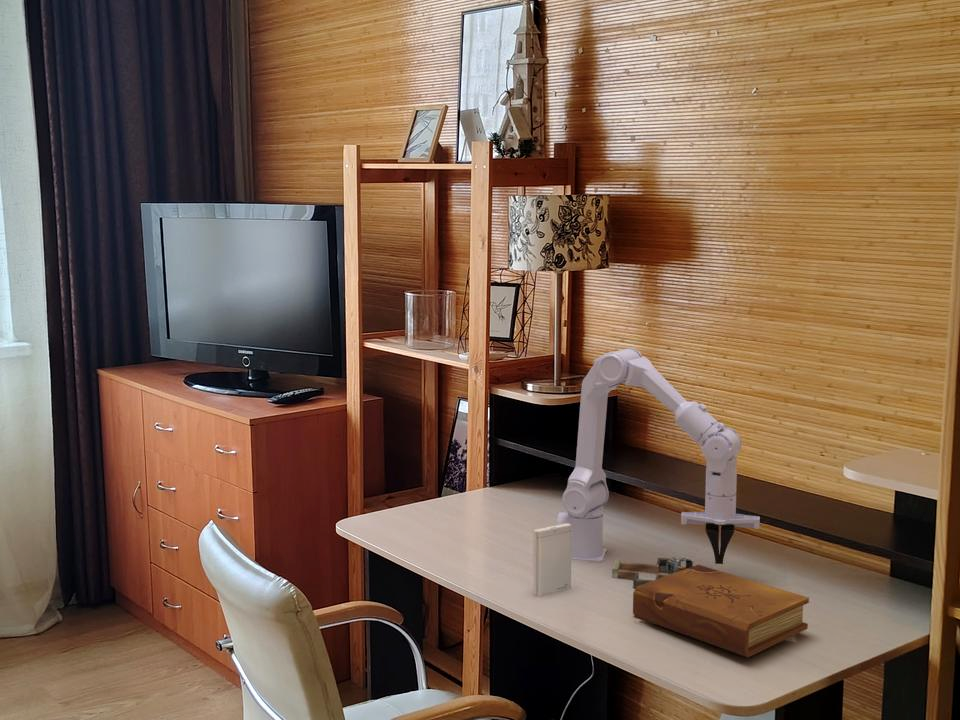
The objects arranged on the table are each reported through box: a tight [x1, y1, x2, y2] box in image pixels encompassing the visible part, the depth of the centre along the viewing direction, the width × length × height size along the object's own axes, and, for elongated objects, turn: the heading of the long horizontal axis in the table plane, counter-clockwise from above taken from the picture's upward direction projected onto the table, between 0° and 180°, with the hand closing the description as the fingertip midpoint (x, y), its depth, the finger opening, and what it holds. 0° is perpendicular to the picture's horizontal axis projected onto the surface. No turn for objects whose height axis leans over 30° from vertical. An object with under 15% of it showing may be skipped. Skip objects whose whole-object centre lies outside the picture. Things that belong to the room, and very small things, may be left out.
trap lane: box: [611, 557, 686, 589], centre depth 205 cm, size 18×15×2 cm
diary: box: [632, 564, 810, 658], centre depth 182 cm, size 23×19×6 cm
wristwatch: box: [666, 556, 694, 574], centre depth 204 cm, size 3×5×5 cm, turn 111°
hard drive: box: [533, 523, 572, 598], centre depth 196 cm, size 2×8×12 cm, turn 125°
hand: (719, 562), depth 202 cm, fingers closed
